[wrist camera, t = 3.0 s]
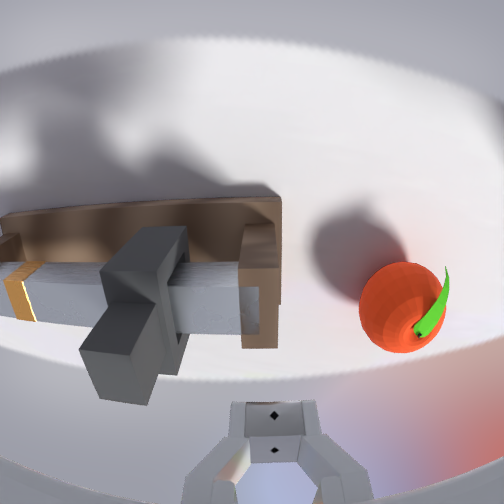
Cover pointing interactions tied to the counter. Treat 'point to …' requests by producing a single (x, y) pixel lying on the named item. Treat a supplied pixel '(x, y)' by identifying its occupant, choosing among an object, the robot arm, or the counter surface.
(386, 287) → the clementine
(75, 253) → the base
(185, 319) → the grey metal bar
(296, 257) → the counter surface
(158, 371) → the grey clamp
